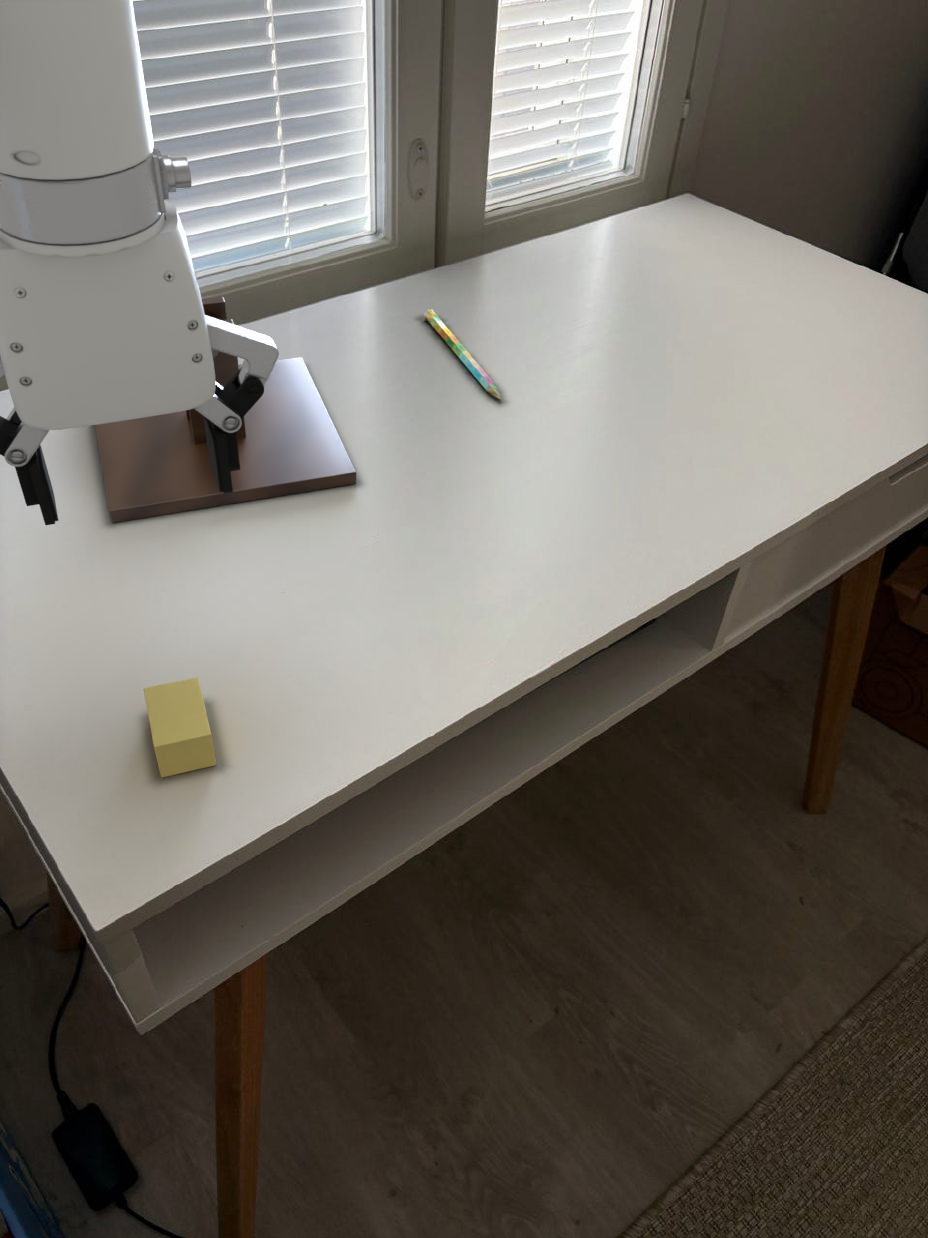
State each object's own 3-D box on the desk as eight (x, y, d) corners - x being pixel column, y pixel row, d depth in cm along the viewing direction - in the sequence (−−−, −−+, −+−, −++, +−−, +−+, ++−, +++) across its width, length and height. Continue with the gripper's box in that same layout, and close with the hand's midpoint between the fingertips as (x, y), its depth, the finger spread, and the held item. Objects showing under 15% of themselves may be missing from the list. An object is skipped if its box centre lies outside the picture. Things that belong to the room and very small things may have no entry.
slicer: (112, 523, 80) (81, 392, 72) (89, 394, 93) (62, 271, 85) (356, 483, 86) (353, 358, 78) (302, 367, 99) (295, 250, 91)
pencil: (506, 403, 97) (434, 317, 108) (507, 393, 96) (434, 308, 108) (494, 405, 96) (422, 319, 108) (495, 395, 96) (423, 309, 107)
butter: (216, 765, 63) (211, 734, 61) (161, 778, 62) (153, 747, 60) (203, 708, 67) (198, 676, 65) (150, 719, 66) (143, 688, 64)
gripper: (245, 149, 51) (270, 436, 63) (-132, 178, 46) (-27, 484, 58) (281, 206, 46) (302, 505, 58) (-136, 245, 41) (-21, 565, 53)
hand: (137, 494), depth 58 cm, fingers open, 9 cm apart
